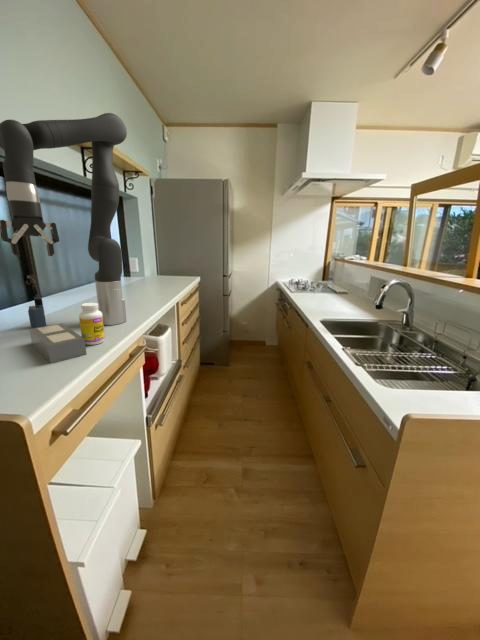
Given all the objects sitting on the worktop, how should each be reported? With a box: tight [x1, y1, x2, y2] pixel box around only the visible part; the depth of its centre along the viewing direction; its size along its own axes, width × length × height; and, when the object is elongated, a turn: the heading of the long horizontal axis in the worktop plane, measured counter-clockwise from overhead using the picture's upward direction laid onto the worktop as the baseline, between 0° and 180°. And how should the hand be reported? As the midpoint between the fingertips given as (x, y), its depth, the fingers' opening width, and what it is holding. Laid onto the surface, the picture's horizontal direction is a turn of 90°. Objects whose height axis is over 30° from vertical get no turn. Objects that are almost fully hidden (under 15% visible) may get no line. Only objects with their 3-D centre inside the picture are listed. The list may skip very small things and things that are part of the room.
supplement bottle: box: [78, 302, 106, 346], centre depth 87 cm, size 7×7×13 cm
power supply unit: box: [28, 323, 88, 364], centre depth 82 cm, size 9×20×5 cm, turn 48°
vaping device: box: [27, 294, 47, 329], centre depth 101 cm, size 3×5×12 cm, turn 162°
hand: (34, 256), depth 85 cm, fingers open, 8 cm apart
